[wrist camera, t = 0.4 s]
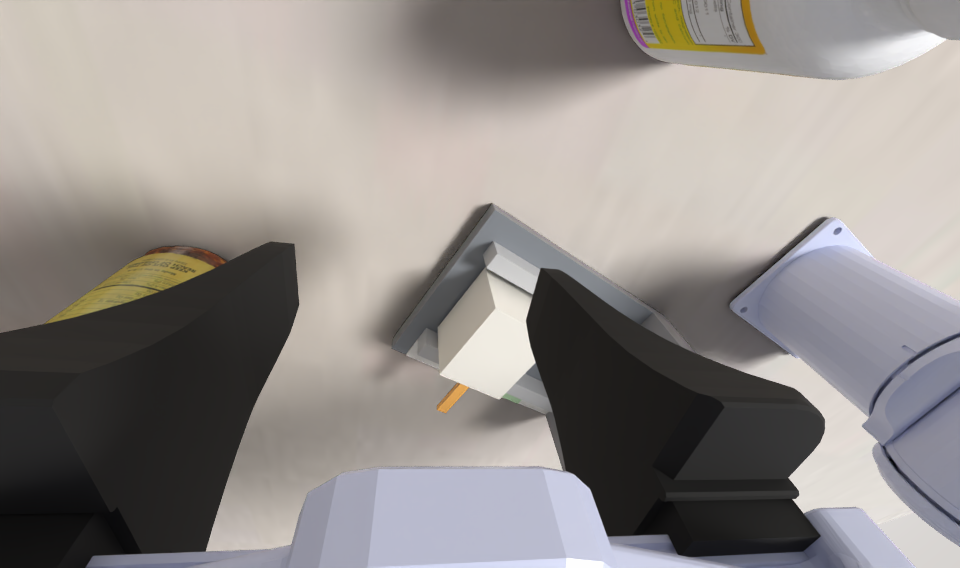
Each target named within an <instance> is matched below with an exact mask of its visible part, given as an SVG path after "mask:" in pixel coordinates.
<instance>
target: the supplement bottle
mask: <svg viewBox="0 0 960 568" xmlns="http://www.w3.org/2000/svg"><path fill="white" fill-rule="evenodd" d="M620 3H621V10H622V15H623V19H624V22H625V25H626V28H627V30H628V32H629V34H630V35H631V37H632V39H633V40H634V42H635V43H636V44H637V45H638V46H639V47H640V48H641V49H642V50H643V51H644V52H645V53H646V54H648V55H650V56H651V57H653V58H655V59H658V60H660V61H664V62H668V63H675V64H683V65H690V66H701V67H712V68H722V69H732V70H742V71H752V72H762V73H771V74H781V75H789V76H798V77H807V78H818V79H832V80H844V79H854V78H860V77H865V76H870V75H874V74H878V73H881V72H884V71H887V70H889V69H892V68H895V67H897V66H900V65H902V64H905V63H907V62H909V61H911V60H913V59H915V58H917V57H919V56H921V55H922V54H924V53H926V52H928V51H929V50H931V49H932V48H934V47H936V46H937V45H939V44H940V43H942V42H944V41H945V40H946V39H949V40H960V0H620Z"/></svg>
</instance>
